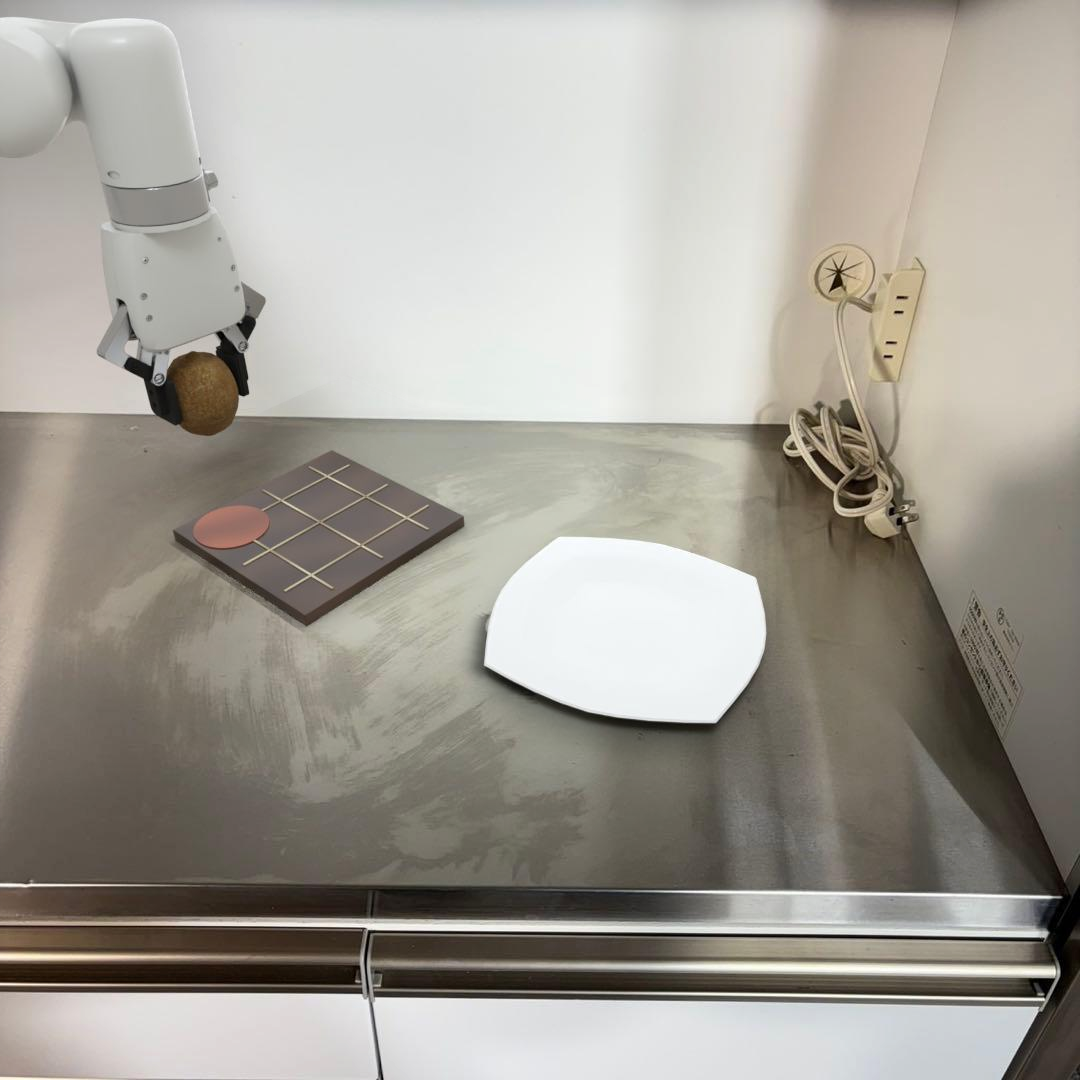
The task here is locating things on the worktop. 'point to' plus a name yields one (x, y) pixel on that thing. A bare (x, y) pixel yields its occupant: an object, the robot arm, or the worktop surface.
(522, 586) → the plate
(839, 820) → the worktop surface
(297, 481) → the board
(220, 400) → the fruit
